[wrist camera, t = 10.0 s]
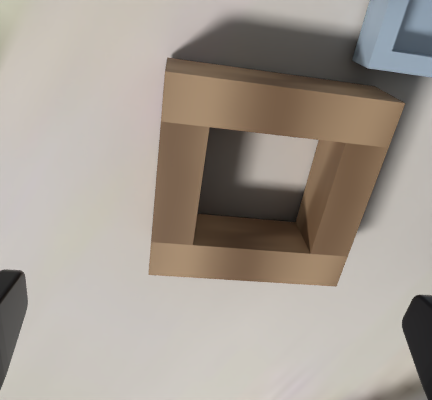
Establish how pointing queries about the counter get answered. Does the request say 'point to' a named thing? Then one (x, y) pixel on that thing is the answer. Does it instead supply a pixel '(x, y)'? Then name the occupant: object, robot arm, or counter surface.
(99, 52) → the counter surface
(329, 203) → the brown square frame
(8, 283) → the robot arm
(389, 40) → the tray
